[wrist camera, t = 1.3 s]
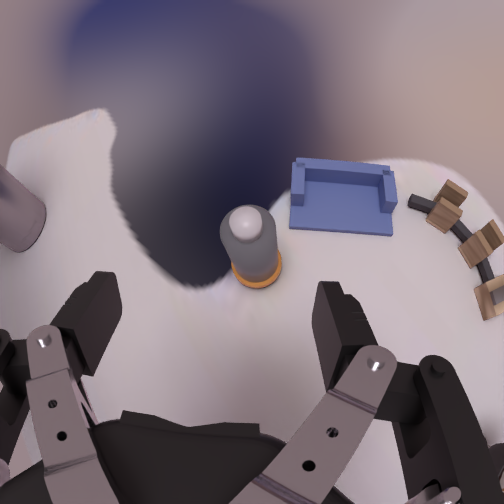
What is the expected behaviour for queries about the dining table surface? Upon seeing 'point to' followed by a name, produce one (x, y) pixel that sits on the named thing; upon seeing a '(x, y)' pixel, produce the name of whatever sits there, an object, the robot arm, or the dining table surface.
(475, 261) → the clip
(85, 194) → the dining table surface
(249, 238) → the grey piece
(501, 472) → the sundae
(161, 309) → the dining table surface
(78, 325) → the robot arm
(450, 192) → the clip
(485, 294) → the tan wooden end block
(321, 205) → the holder
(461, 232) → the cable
